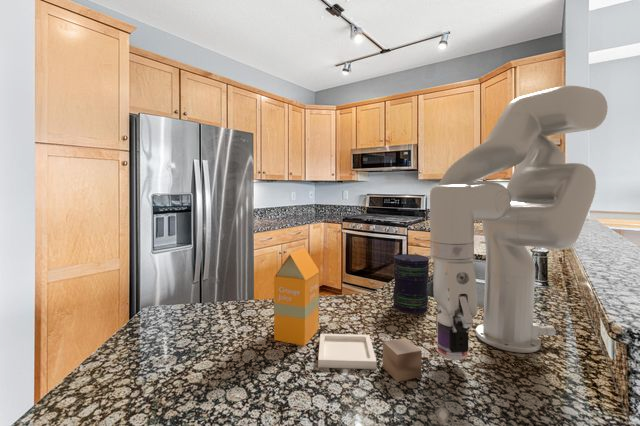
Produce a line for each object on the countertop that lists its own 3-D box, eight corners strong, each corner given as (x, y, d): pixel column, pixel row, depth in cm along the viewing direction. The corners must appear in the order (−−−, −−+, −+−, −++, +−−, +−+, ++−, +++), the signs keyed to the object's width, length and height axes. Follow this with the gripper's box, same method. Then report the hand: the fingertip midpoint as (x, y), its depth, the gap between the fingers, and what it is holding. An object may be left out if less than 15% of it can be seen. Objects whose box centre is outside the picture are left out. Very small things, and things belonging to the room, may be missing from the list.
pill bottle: (471, 362, 56) (471, 311, 55) (440, 360, 57) (439, 309, 56) (463, 346, 61) (463, 299, 60) (435, 345, 62) (434, 298, 61)
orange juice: (273, 340, 68) (273, 252, 67) (290, 324, 77) (290, 246, 76) (305, 346, 66) (305, 254, 65) (319, 329, 74) (320, 248, 73)
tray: (369, 341, 68) (369, 334, 68) (376, 369, 57) (376, 361, 57) (320, 340, 69) (320, 333, 68) (318, 367, 58) (318, 359, 57)
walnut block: (405, 362, 60) (405, 338, 59) (420, 377, 55) (421, 350, 55) (382, 367, 58) (383, 341, 58) (396, 382, 53) (397, 354, 53)
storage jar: (400, 299, 96) (401, 252, 95) (432, 306, 90) (433, 256, 89) (387, 309, 88) (388, 257, 87) (421, 317, 82) (423, 262, 81)
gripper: (496, 260, 48) (495, 368, 50) (453, 241, 65) (454, 322, 67) (448, 262, 49) (449, 369, 50) (418, 242, 66) (419, 323, 67)
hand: (452, 341), depth 59 cm, fingers closed on pill bottle, 5 cm apart
